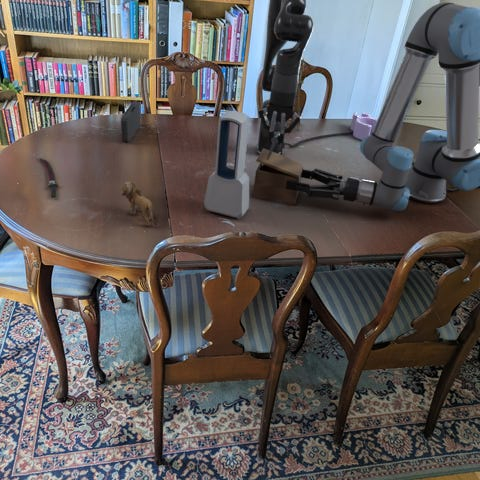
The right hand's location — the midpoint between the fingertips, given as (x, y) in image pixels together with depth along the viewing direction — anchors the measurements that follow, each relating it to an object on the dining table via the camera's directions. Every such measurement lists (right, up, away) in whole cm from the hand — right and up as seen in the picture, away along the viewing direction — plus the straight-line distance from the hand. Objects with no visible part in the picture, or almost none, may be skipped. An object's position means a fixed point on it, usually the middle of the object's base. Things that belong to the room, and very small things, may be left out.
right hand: (288, 177), depth 152 cm
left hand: (-5, +10, -5) cm, 12 cm away
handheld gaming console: (-60, +23, +39) cm, 75 cm away
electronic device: (-20, -12, -8) cm, 25 cm away
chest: (-4, -5, +4) cm, 8 cm away
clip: (+42, +29, +64) cm, 82 cm away
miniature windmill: (+7, +32, +64) cm, 72 cm away
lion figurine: (-45, -13, -16) cm, 50 cm away
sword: (-78, 0, -1) cm, 78 cm away
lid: (-3, +4, -2) cm, 5 cm away
